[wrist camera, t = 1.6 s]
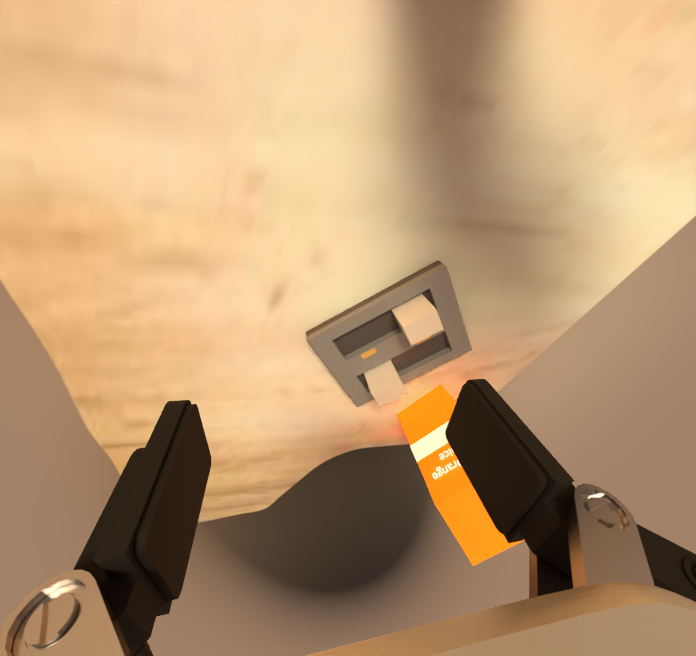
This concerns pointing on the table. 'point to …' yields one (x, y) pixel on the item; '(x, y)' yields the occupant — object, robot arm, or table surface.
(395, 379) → the tab
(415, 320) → the tab
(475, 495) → the orange juice
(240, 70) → the table surface
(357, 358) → the switch board
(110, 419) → the table surface
